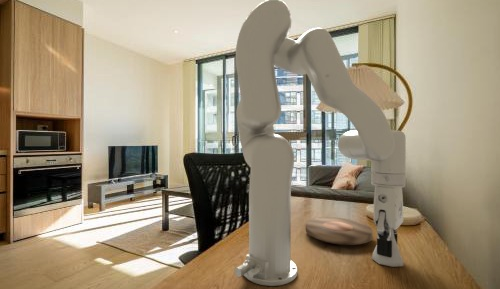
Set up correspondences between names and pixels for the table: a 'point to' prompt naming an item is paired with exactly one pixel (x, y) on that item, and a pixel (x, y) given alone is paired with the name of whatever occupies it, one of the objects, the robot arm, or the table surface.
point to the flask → (396, 256)
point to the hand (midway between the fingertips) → (387, 250)
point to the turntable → (339, 230)
